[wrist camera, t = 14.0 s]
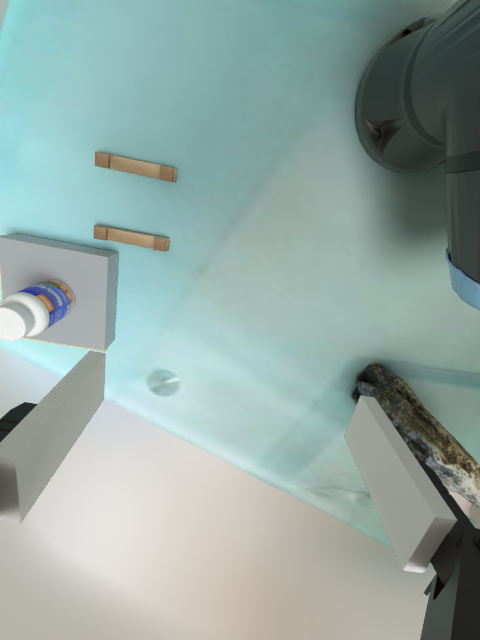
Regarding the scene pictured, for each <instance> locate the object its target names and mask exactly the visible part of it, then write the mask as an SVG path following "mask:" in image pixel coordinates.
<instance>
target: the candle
mask: <svg viewBox="0 0 480 640" xmlns="http://www.w3.org/2000/svg"><path fill="white" fill-rule="evenodd" d="M447 490H448V489H447ZM448 491H449V494H451V495H452V497H453V498H454V499H455V501H456V502H457V504H458V505H459V506H460V508H461V509H462V511H463V512H464V513H465V515H467V516H469V517H471V518H472V519H473V520H474V521H475V522H476V523H477V524H478V526H479V527H480V510H478V509H477V508H476V507H475V506H474V505H473V504H472V503H471V502H469V501H468V500H466V499H465V498H464V497H462V496H461V495H459V494H457V493H455V492H453V491H450V490H448Z"/></svg>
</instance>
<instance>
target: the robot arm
mask: <svg viewBox="0 0 480 640" xmlns="http://www.w3.org/2000/svg"><path fill="white" fill-rule="evenodd" d="M355 117H356V126H357V131H358V135H359V138H360V141H361V143H362V145H363V147H364V148H365V150H366V152H367V153H368V154H369V155H370V157H371V158H372V159H373V160H375V161H376V162H377V163H378V164H380V165H381V166H383V167H385V168H387V169H390V170H394V171H398V172H413V171H420V170H425V169H429V168H432V167H435V166H438V165H440V164H442V163H444V162H445V184H446V211H447V239H448V248H447V249H446V259H447V261H448V264H449V268H450V279H451V285H452V287H453V290H454V291H455V292H456V293H457V295H458V296H459V297H460V298H461V299H462V300H463V301H464V302H466V303H467V304H469V305H470V306H472V307H474V308H476V309H478V310H480V0H458V1H457V2H456V3H455V4H454V5H453V6H452V7H451V8H450V9H449V10H447V11H446V12H445V13H441V14H437V15H433V16H429V17H426V18H423V19H420V20H418V21H416V22H414V23H412V24H410V25H408V26H407V27H405V28H404V29H402V30H401V31H400V32H398V33H397V34H396V35H395V36H394V37H393V38H392V39H391V40H390V41H389V42H388V43H387V44H386V45H385V46H384V47H383V48H382V49H381V50H380V51H379V52H378V53H377V55H376V56H375V57H374V59H373V60H372V62H371V63H370V65H369V66H368V68H367V70H366V72H365V74H364V76H363V79H362V81H361V84H360V87H359V90H358V95H357V100H356V110H355ZM105 355H106V353H100V352H94V351H89V352H88V353H87V354H86V355H85V356H84V357H83V358H82V359H81V360H80V361H79V362H78V363H77V364H76V365H75V366H74V367H73V369H72V370H71V371H70V372H69V373H68V374H67V375H66V376H65V377H64V378H63V379H62V380H61V381H60V382H59V383H58V384H57V385H56V386H55V387H54V388H53V389H52V390H51V391H50V392H49V393H48V394H47V395H46V396H45V397H44V398H43V399H42V400H41V401H40V402H39V403H38V404H33V403H26V402H24V403H23V404H21V405H19V406H17V407H15V408H13V409H11V410H10V411H9V412H8V413H7V414H5V415H4V416H3V417H2V418H1V419H0V521H9V522H16V523H22V521H23V519H24V518H25V516H26V515H27V513H28V512H29V510H30V509H31V507H32V506H33V505H34V503H35V502H36V500H37V499H38V497H39V496H40V494H41V493H42V491H43V490H44V488H45V487H46V485H47V484H48V482H49V481H50V479H51V477H52V476H53V475H54V473H55V472H56V470H57V469H58V467H59V466H60V464H61V463H62V461H63V460H64V458H65V457H66V455H67V454H68V452H69V451H70V449H71V448H72V446H73V445H74V443H75V442H76V440H77V439H78V437H79V436H80V434H81V433H82V431H83V430H84V428H85V427H86V425H87V424H88V422H89V421H90V419H91V418H92V417H93V415H94V414H95V412H96V411H97V409H98V408H99V406H100V405H101V403H102V401H103V400H104V382H105ZM344 437H345V439H346V442H347V444H348V446H349V449H350V451H351V453H352V455H353V458H354V460H355V462H356V464H357V467H358V469H359V471H360V474H361V476H362V478H363V480H364V483H365V485H366V487H367V489H368V492H369V494H370V496H371V499H372V501H373V503H374V505H375V508H376V510H377V512H378V514H379V517H380V519H381V521H382V524H383V526H384V528H385V530H386V533H387V535H388V537H389V539H390V542H391V544H392V546H393V549H394V551H395V553H396V555H397V558H398V560H399V562H400V564H401V567H402V569H403V570H405V571H413V572H422V573H423V572H424V571H425V569H426V568H427V566H428V565H429V563H430V562H431V563H432V565H433V567H434V569H435V571H436V572H437V574H436V575H435V577H434V578H433V580H432V581H431V582H430V584H429V585H428V587H427V589H426V590H425V592H424V593H425V594H426V595H428V594H429V592H430V595H429V600H428V605H427V610H426V614H425V619H424V624H423V629H422V634H421V639H420V640H480V529H477V528H475V527H474V526H473V525H472V523H471V522H470V520H469V519H468V518H467V516H466V515H465V513H464V512H463V511H462V509H461V508H460V506H459V505H458V504H457V502H456V501H455V499H454V498H453V497H452V495H451V494H449V491H448V490H447V488H446V487H445V485H443V483H442V481H441V480H440V478H439V477H438V476H437V474H436V473H435V472H434V471H433V470H432V469H431V468H430V467H429V466H428V465H427V464H426V463H425V462H423V461H417V460H416V458H415V457H414V455H413V454H412V452H411V451H410V449H409V448H408V446H407V445H406V443H405V442H404V440H403V439H402V438H401V436H400V435H399V433H398V432H397V430H396V429H395V427H394V426H393V424H392V423H391V421H390V420H389V418H388V417H387V415H386V414H385V412H384V411H383V409H382V408H381V407H380V405H379V404H378V402H377V401H376V399H375V398H374V397H368V396H362V395H360V398H359V400H358V403H357V405H356V408H355V410H354V413H353V416H352V418H351V421H350V423H349V426H348V428H347V431H346V433H345V436H344Z"/></svg>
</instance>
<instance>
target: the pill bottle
mask: <svg viewBox="0 0 480 640" xmlns="http://www.w3.org/2000/svg"><path fill="white" fill-rule="evenodd" d="M74 305H75V298H74V295H73V293H72V291H71V290H70V288H69V287H68V286H67V285H65V284H64V283H62V282H60V281H57V280H45V281H42V282H39V283H37V284H35V285H32V286H30V287H27V288H25V289H23V290H20V291H18V292H15V293H13V294H11V295H9V296H7V297H6V298H5V299H4V300H3V301H2V302H1V304H0V338H2V339H5V340H9V341H15V340H19V339H21V338H22V337H24V336H35V335H37V334H40V333H41V332H43V331H44V330H46V329H47V328H49V327H50V326H52V325H53V324H55V323H56V322H58V321H59V320H61V319H62V318H64V317H65V316H67V315H68V314H69V313H70V312H71V311H72V310H73V308H74Z"/></svg>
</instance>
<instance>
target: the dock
mask: <svg viewBox="0 0 480 640" xmlns="http://www.w3.org/2000/svg"><path fill="white" fill-rule="evenodd" d="M118 259H119V252H114V251H109V250H103V249H98V248H93V247H87V246H82V245H77V244H71V243H66V242H61V241H55V240H50V239H45V238H39V237H34V236H29V235H24V234H12V235H0V278H1V289H2V300H4V299H5V298H6V297H7V296H9V295H11V294H13V293H15V292H18V291H20V290H23V289H25V288H27V287H30V286H32V285H35V284H37V283H39V282H42V281H45V280H57V281H60V282H62V283H64V284H65V285H67V286H68V287H69V288H70V290H71V291H72V293H73V295H74V298H75V305H74V308H73V310H72V311H71V312H70V313H69V314H68V315H67V316H65V317H64V318H62V319H61V320H59V321H58V322H56V323H55V324H53V325H52V326H50V327H49V328H47V329H46V330H44V331H43V332H41V333H40V334H37V335H35V336H24V337H22V338H26V339H32V340H38V341H44V342H50V343H56V344H62V345H68V346H74V347H80V348H87V349H93V350H99V351H106V350H107V349H108V346H109V345H110V344H111V343H112V342H113V341H114V340H115V321H116V300H117V279H118Z"/></svg>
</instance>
